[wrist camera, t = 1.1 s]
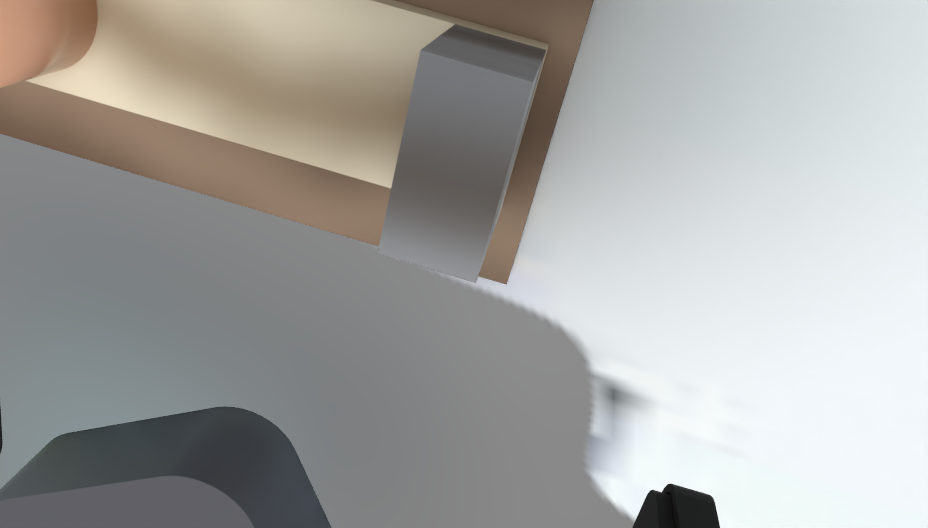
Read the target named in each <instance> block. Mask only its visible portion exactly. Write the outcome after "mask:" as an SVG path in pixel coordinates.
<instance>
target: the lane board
mask: <svg viewBox="0 0 928 528" xmlns="http://www.w3.org/2000/svg"><path fill="white" fill-rule="evenodd" d="M395 1H399V2H402V3H406V4H409V5H413V6H416V7H420V8H423V9H427V10H431V11H434V12H438V13H441V14H445V15H448V16H452V17H455V18H459V19H462V20H466V21H469V22H473V23H477V24H480V25H484V26H487V27H491V28H494V29H498V30H501V31H505V32H508V33H512V34H516V35H519V36H523V37H526V38H530V39H533V40H537V41H540V42H544V43H547V44H549V46H548V49H547V53H546V56H545V60H544V63H543V67H542V70H541V74H540V77H539V81H538V84H537V87H536V91H535V94H534V98H533V101H532V105H531V108H530V112H529V115H528V119H527V122H526V126H525V129H524V133H523V136H522V140H521V143H520V146H519V150H518V153H517V157H516V160H515V164H514V167H513V171H512V174H511V178H510V181H509V185H508V188H507V192H506V195H505V199H504V202H503V206H502V209H501V212H500V215H499V217H498V220H497V223H496V226H495V229H494V232H493V235H492V238H491V240H490V243H489V246H488V249H487V252H486V255H485V258H484V261H483V263H482V266H481V269H480V272H479V275H478V276H480V277H483V278H486V279H490V280H493V281H497V282H500V283H503V284H507V281H508V278H509V275H510V271H511V268H512V265H513V262H514V258H515V255H516V252H517V249H518V245H519V242H520V239H521V236H522V232H523V229H524V226H525V223H526V219H527V216H528V213H529V210H530V206H531V203H532V200H533V196H534V193H535V190H536V187H537V183H538V180H539V177H540V174H541V170H542V167H543V164H544V161H545V157H546V154H547V151H548V148H549V144H550V141H551V138H552V135H553V131H554V128H555V125H556V121H557V118H558V115H559V112H560V108H561V105H562V102H563V99H564V95H565V92H566V89H567V86H568V82H569V79H570V76H571V73H572V69H573V66H574V63H575V60H576V56H577V53H578V50H579V47H580V43H581V40H582V37H583V33H584V30H585V27H586V24H587V20H588V17H589V14H590V11H591V7H592V4H593V1H594V0H395ZM0 134H4V135H7V136H11V137H14V138H17V139H20V140H24V141H27V142H31V143H34V144H37V145H41V146H44V147H47V148H51V149H54V150H57V151H61V152H64V153H67V154H71V155H74V156H77V157H81V158H84V159H87V160H91V161H94V162H98V163H101V164H104V165H108V166H111V167H115V168H118V169H121V170H125V171H128V172H131V173H134V174H138V175H141V176H145V177H148V178H151V179H155V180H158V181H162V182H165V183H168V184H171V185H175V186H178V187H181V188H185V189H188V190H191V191H195V192H199V193H201V194H205V195H208V196H212V197H215V198H218V199H222V200H225V201H229V202H232V203H235V204H239V205H242V206H245V207H248V208H252V209H255V210H258V211H262V212H265V213H269V214H272V215H275V216H279V217H282V218H285V219H289V220H292V221H296V222H299V223H302V224H305V225H309V226H312V227H316V228H319V229H322V230H326V231H329V232H333V233H336V234H339V235H342V236H346V237H349V238H352V239H356V240H359V241H362V242H366V243H369V244H372V245H376V246H379V243H380V239H381V234H382V229H383V224H384V220H385V215H386V210H387V206H388V201H389V196H390V191H391V188H388V187H384V186H381V185H377V184H374V183H371V182H367V181H364V180H360V179H357V178H354V177H350V176H347V175H343V174H340V173H337V172H333V171H330V170H326V169H323V168H320V167H316V166H313V165H309V164H306V163H303V162H299V161H296V160H292V159H289V158H286V157H282V156H279V155H275V154H272V153H269V152H265V151H262V150H258V149H255V148H252V147H248V146H245V145H242V144H238V143H235V142H231V141H228V140H225V139H221V138H218V137H214V136H211V135H208V134H204V133H201V132H197V131H194V130H191V129H187V128H184V127H180V126H177V125H174V124H170V123H167V122H163V121H160V120H157V119H153V118H150V117H146V116H143V115H140V114H136V113H133V112H129V111H126V110H123V109H119V108H116V107H112V106H109V105H106V104H102V103H99V102H95V101H92V100H89V99H85V98H82V97H78V96H75V95H72V94H68V93H65V92H61V91H58V90H55V89H51V88H48V87H44V86H41V85H38V84H34V83H31V82H27V81H22V82H19V83H16V84H12V85H9V86H5V87H2V88H0Z"/></svg>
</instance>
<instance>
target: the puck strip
mask: <svg viewBox="0 0 928 528" xmlns="http://www.w3.org/2000/svg"><path fill="white" fill-rule="evenodd" d="M96 2H97V11H98V21H97V29H96V34H95V37H94V40H93V43H92V45H91V47H90V48H89V50H88V52H87V53H86V54H85V56H84V57H83V58H82V59H81V60H80V61H78V62H77V63H76V64H74V65H72V66H71V67H68V68H66V69H64V70H60V71H57V72H53V73H50V74H46V75H43V76H40V77H36V78H33V79H29V80H26V81H27V82H31V83H34V84H38V85H41V86H44V87H48V88H51V89H55V90H58V91H61V92H65V93H68V94H72V95H75V96H78V97H82V98H85V99H89V100H92V101H95V102H99V103H102V104H106V105H109V106H112V107H116V108H119V109H123V110H126V111H129V112H133V113H136V114H140V115H143V116H146V117H150V118H153V119H157V120H160V121H163V122H167V123H170V124H174V125H177V126H180V127H184V128H187V129H191V130H194V131H197V132H201V133H204V134H208V135H211V136H214V137H218V138H221V139H225V140H228V141H231V142H235V143H238V144H242V145H245V146H248V147H252V148H255V149H258V150H262V151H265V152H269V153H272V154H275V155H279V156H282V157H286V158H289V159H292V160H296V161H299V162H303V163H306V164H309V165H313V166H316V167H320V168H323V169H326V170H330V171H333V172H337V173H340V174H343V175H347V176H350V177H354V178H357V179H360V180H364V181H367V182H371V183H374V184H377V185H381V186H384V187H388V188H391V191H390V196H389V201H388V206H387V210H386V215H385V220H384V224H383V229H382V234H381V239H380V243H379V248H378V254H381V255H384V256H387V257H391V258H394V259H398V260H401V261H404V262H408V263H411V264H414V265H418V266H421V267H424V268H428V269H431V270H434V271H438V272H441V273H444V274H448V275H451V276H454V277H458V278H461V279H464V280H468V281H471V282H474V283H476V281H477V278H478V275H479V272H480V269H481V266H482V263H483V261H484V258H485V255H486V252H487V249H488V246H489V243H490V240H491V238H492V235H493V232H494V229H495V226H496V223H497V220H498V217H499V215H500V212H501V209H502V206H503V202H504V199H505V195H506V192H507V188H508V185H509V181H510V178H511V174H512V171H513V167H514V164H515V160H516V157H517V153H518V150H519V146H520V143H521V140H522V136H523V133H524V129H525V126H526V122H527V119H528V115H529V112H530V108H531V105H532V101H533V98H534V94H535V91H536V87H537V84H538V81H539V77H540V74H541V70H542V67H543V63H544V60H545V56H546V53H547V49H548V46H549V44H547V43H544V42H540V41H537V40H533V39H530V38H526V37H523V36H519V35H516V34H512V33H508V32H505V31H501V30H498V29H494V28H491V27H487V26H484V25H480V24H477V23H473V22H469V21H466V20H462V19H459V18H455V17H452V16H448V15H445V14H441V13H438V12H434V11H431V10H427V9H423V8H420V7H416V6H413V5H409V4H406V3H402V2H399V1H395V0H96Z"/></svg>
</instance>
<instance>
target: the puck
mask: <svg viewBox="0 0 928 528" xmlns="http://www.w3.org/2000/svg"><path fill="white" fill-rule="evenodd" d="M97 21H98V11H97V2H96V0H0V88H2V87H5V86H9V85H12V84H16V83H19V82H22V81H26V80H29V79H33V78H36V77H40V76H43V75H46V74H50V73H53V72H57V71H60V70H64V69H66V68H68V67H71V66H72V65H74V64H76V63H77V62H78V61H80V60H81V59H82V58H83V57H84V56H85V54H86V53H87V52H88V50H89V48H90V47H91V45H92V43H93V40H94V37H95V34H96V29H97Z"/></svg>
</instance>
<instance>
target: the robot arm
mask: <svg viewBox="0 0 928 528" xmlns="http://www.w3.org/2000/svg"><path fill="white" fill-rule="evenodd" d="M1 449H2V427H1V409H0V453H1ZM633 528H720V526H719V521H718V516H717V511H716V506H715V502H714V499H713V497H711V496H710V495H708V494H704V493H701V492H698V491H694V490H691V489H687V488H684V487H680V486H677V485H674V484H668V485H667V486H666V487H665V488H664V490H663V491H662V493H661V492H658V491H655V490H651V491H650V492H649V493H648V495H647V497H646V499H645V501H644V503H643V505H642V508H641V510H640V512H639V514H638V516H637V519H636V521H635V523H634V525H633Z"/></svg>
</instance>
